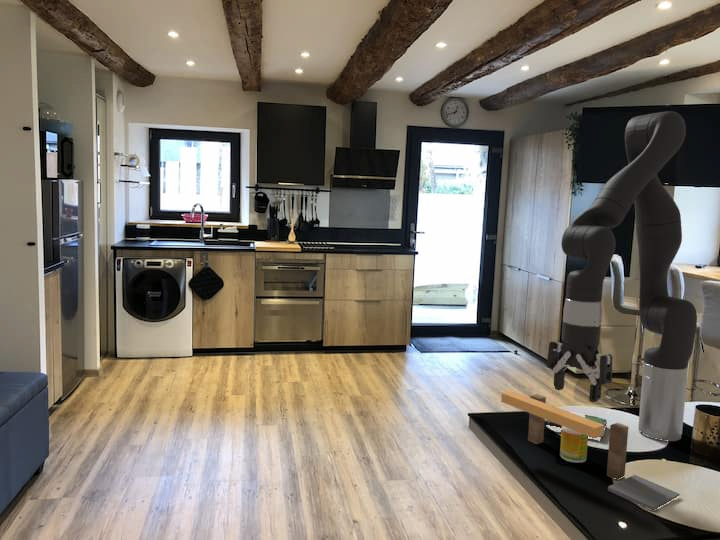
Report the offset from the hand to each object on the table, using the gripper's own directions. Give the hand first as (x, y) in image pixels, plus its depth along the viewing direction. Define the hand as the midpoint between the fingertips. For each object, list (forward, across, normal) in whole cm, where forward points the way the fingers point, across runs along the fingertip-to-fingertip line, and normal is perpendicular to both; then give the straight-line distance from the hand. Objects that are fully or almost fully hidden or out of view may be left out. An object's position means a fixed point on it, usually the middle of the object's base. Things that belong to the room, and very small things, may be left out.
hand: (576, 395), depth 124 cm
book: (+14, +17, -2) cm, 22 cm away
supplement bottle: (+14, 0, 0) cm, 14 cm away
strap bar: (+3, 0, -9) cm, 9 cm away
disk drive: (+15, -11, +14) cm, 23 cm away
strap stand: (+14, 0, 0) cm, 14 cm away
